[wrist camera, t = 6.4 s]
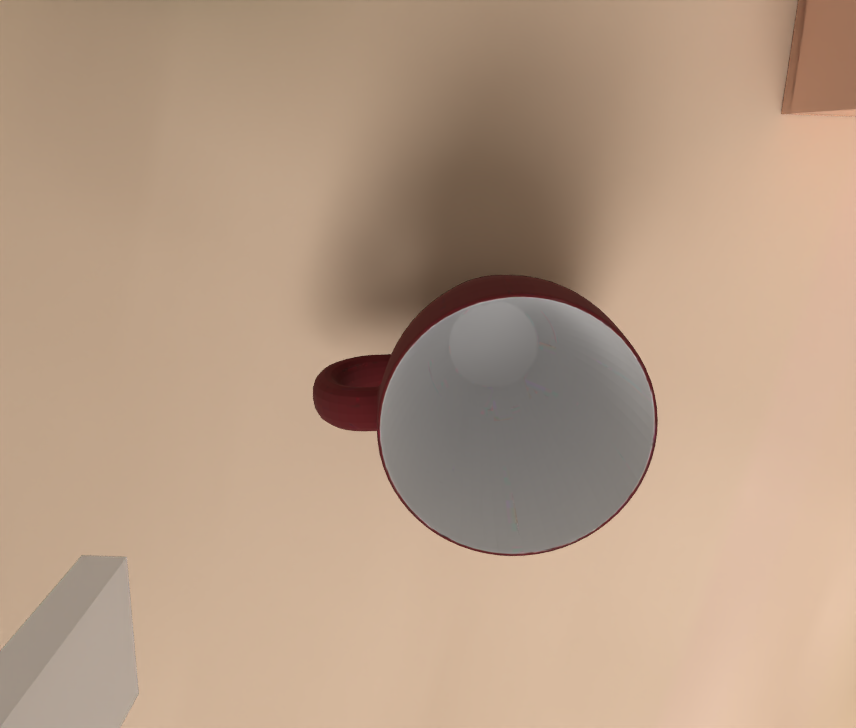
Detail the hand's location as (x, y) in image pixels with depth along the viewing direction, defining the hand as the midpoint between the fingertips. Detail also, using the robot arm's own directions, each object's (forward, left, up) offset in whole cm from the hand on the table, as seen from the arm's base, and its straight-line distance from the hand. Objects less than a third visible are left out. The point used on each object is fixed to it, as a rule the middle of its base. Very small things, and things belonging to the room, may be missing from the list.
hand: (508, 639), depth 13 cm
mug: (0, 0, -20) cm, 20 cm away
